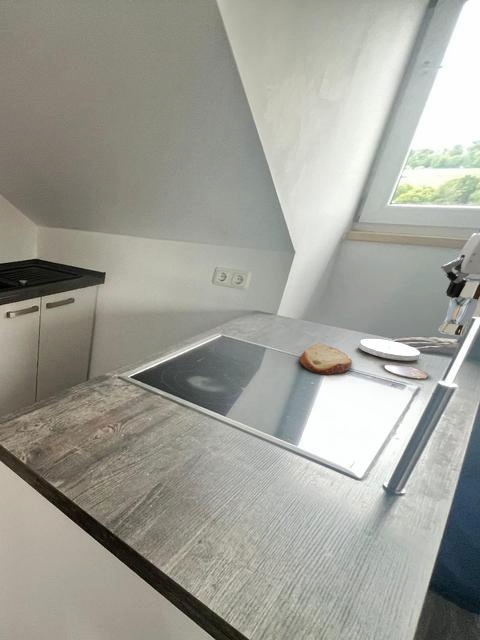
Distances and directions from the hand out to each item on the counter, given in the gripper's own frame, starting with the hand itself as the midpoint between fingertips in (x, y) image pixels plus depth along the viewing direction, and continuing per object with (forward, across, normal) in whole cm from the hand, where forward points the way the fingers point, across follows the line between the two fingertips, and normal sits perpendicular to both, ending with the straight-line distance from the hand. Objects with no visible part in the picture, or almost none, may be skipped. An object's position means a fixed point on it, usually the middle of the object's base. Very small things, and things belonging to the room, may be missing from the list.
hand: (470, 297), depth 104 cm
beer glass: (+10, 0, 0) cm, 10 cm away
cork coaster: (+21, +9, +6) cm, 24 cm away
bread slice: (+21, +29, +7) cm, 36 cm away
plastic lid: (+22, +9, -8) cm, 25 cm away
